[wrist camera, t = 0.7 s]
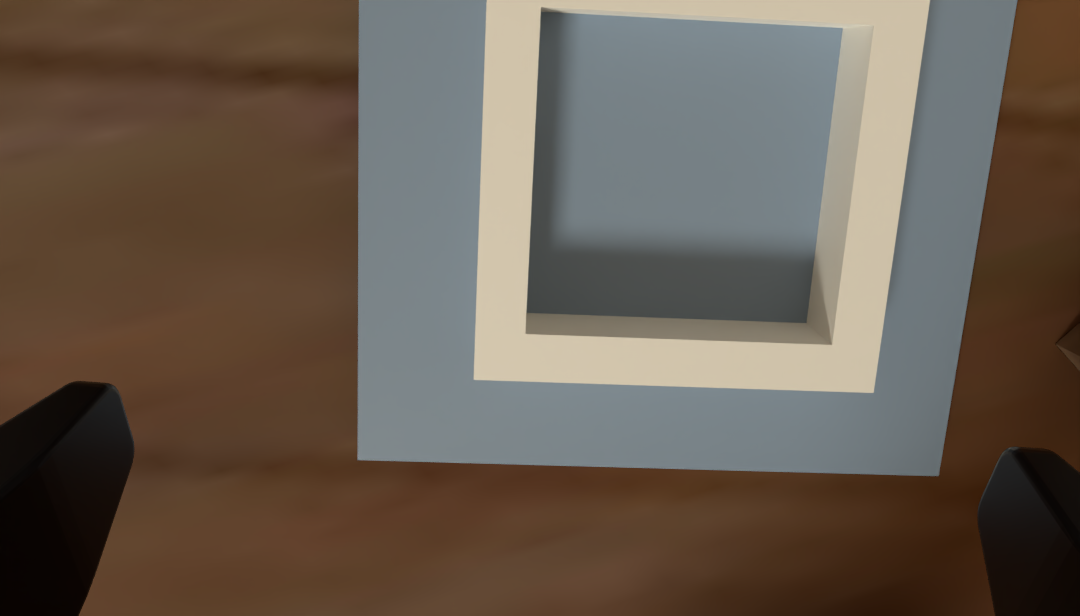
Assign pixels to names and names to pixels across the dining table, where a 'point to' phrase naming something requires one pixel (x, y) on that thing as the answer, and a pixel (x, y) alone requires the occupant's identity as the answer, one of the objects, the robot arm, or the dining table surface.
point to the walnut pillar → (1071, 345)
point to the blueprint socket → (670, 229)
